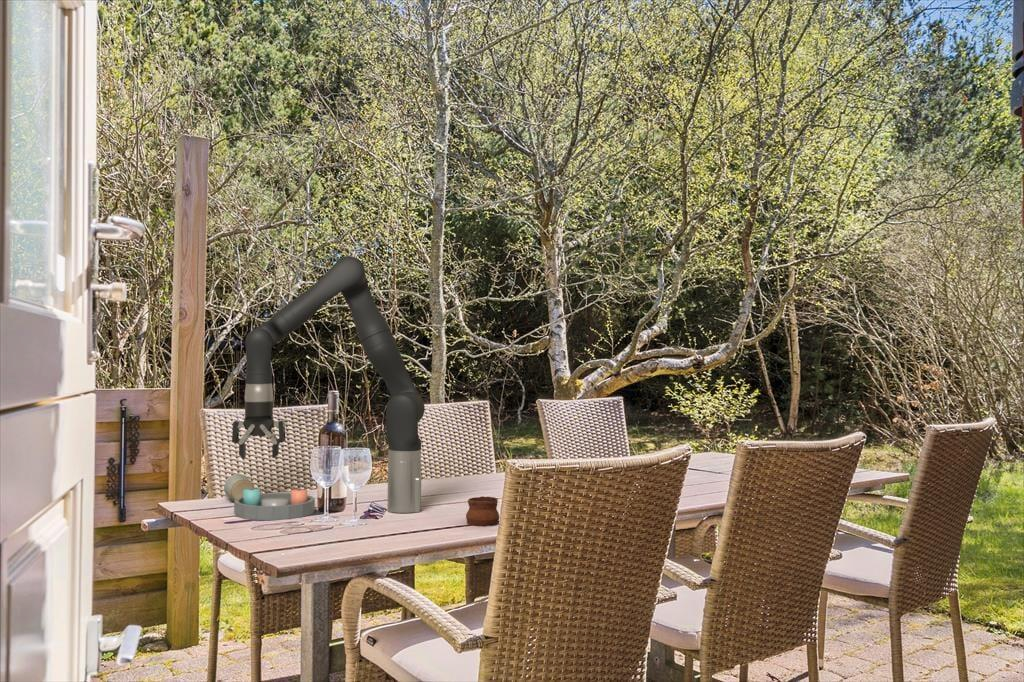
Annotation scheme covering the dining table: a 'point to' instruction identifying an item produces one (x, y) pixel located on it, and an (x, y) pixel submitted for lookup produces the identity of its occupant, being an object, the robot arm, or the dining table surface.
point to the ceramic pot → (482, 511)
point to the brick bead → (298, 496)
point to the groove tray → (274, 507)
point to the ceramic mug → (236, 486)
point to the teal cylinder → (251, 496)
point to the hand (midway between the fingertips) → (258, 457)
